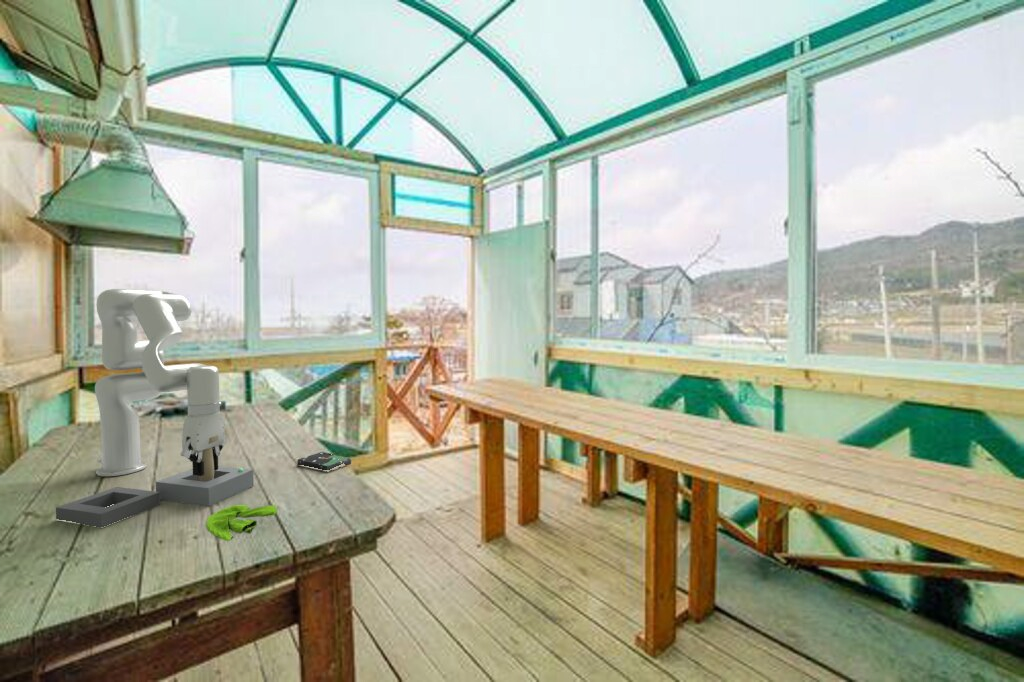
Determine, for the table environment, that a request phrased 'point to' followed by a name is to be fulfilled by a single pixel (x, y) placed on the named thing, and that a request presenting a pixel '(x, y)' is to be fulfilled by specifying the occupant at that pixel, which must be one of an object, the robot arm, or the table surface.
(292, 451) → the table surface
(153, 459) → the table surface
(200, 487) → the port block
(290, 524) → the table surface
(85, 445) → the table surface
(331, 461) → the disk drive
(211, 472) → the handle
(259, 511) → the cloth
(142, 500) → the grey square frame
